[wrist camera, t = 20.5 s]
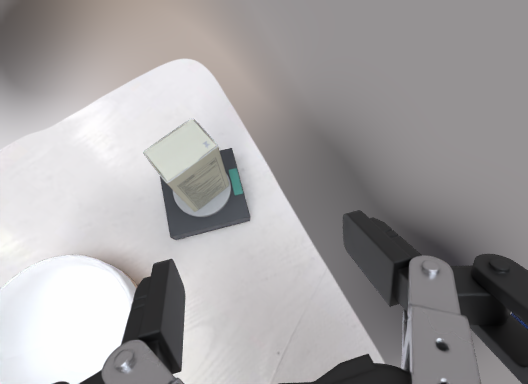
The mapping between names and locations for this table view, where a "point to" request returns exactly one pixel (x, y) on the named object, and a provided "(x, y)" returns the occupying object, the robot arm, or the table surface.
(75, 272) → the bowl
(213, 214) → the scale
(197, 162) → the cosmetic box
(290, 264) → the table surface
